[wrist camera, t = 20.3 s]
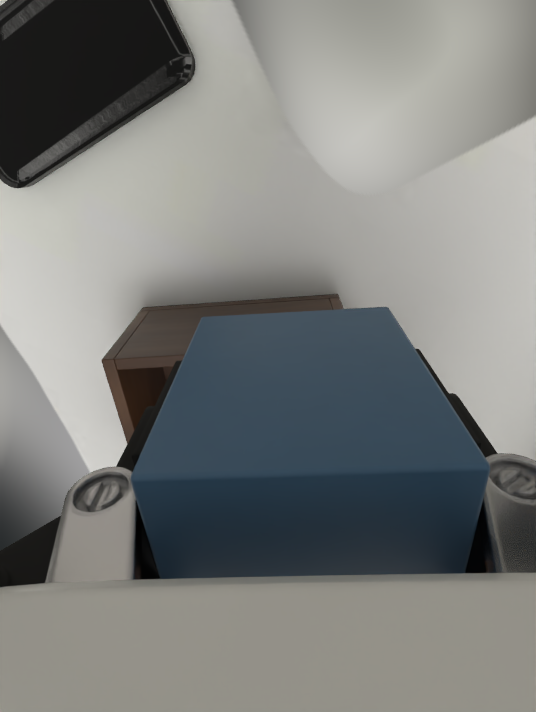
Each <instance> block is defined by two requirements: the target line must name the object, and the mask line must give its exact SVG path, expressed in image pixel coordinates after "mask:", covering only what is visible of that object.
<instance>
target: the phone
mask: <svg viewBox="0 0 536 712" xmlns="http://www.w3.org/2000/svg"><path fill="white" fill-rule="evenodd" d="M194 70H195V60H194V57H193V54H192V52H191V50H190V48H189V46H188V44H187V41H186V39H185V37H184V35H183V33H182V31H181V29H180V27H179V25H178V23H177V21H176V19H175V17H174V15H173V13H172V11H171V9H170V7H169V5H168V3H167V1H166V0H7V1H6V2H5V3H4V4H2V5H1V6H0V179H1V180H2V181H3V182H4V183H5V184H7V185H8V186H10V187H13V188H23V187H28V186H31V185H34V184H35V183H37V182H38V181H40V180H41V179H43V178H44V177H46V176H47V175H49V174H50V173H52V172H53V171H55V170H56V169H58V168H59V167H61V166H62V165H64V164H65V163H67V162H69V161H70V160H72V159H73V158H75V157H76V156H78V155H79V154H81V153H82V152H84V151H85V150H87V149H88V148H90V147H91V146H93V145H94V144H96V143H97V142H99V141H100V140H102V139H104V138H105V137H107V136H108V135H110V134H111V133H113V132H114V131H116V130H117V129H119V128H120V127H122V126H123V125H125V124H126V123H128V122H129V121H131V120H132V119H134V118H135V117H137V116H139V115H140V114H142V113H143V112H145V111H146V110H148V109H149V108H151V107H152V106H154V105H155V104H157V103H158V102H160V101H161V100H163V99H164V98H166V97H167V96H169V95H170V94H172V93H174V92H175V91H177V90H178V89H180V88H181V87H183V86H184V85H186V84H187V83H188V82H189V81H190V80H191V79H192V77H193V75H194Z"/></svg>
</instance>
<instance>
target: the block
mask: <svg viewBox="0 0 536 712" xmlns="http://www.w3.org/2000/svg"><path fill="white" fill-rule="evenodd" d="M489 473H490V465H489V463H488V461H487V460H486V458H485V456H484V455H483V453H482V452H481V450H480V449H479V447H478V446H477V444H476V443H475V441H474V439H473V438H472V436H471V435H470V433H469V432H468V430H467V429H466V427H465V426H464V424H463V422H462V421H461V419H460V418H459V416H458V415H457V413H456V412H455V410H454V409H453V407H452V405H451V404H450V402H449V401H448V399H447V398H446V396H445V395H444V393H443V392H442V390H441V388H440V387H439V385H438V384H437V382H436V381H435V379H434V378H433V376H432V375H431V373H430V371H429V370H428V368H427V367H426V365H425V364H424V362H423V361H422V359H421V357H420V356H419V354H418V353H417V351H416V350H415V348H414V347H413V345H412V344H411V342H410V340H409V339H408V337H407V336H406V334H405V333H404V331H403V330H402V328H401V327H400V325H399V323H398V322H397V320H396V319H395V317H394V316H393V314H392V313H391V311H390V310H389V308H388V307H375V308H357V309H339V310H321V311H302V312H284V313H266V314H247V315H229V316H211V317H202V318H201V320H200V322H199V324H198V327H197V329H196V331H195V333H194V335H193V338H192V340H191V342H190V344H189V347H188V349H187V351H186V353H185V356H184V358H183V360H182V362H181V365H180V367H179V369H178V371H177V374H176V376H175V378H174V380H173V383H172V385H171V387H170V389H169V392H168V394H167V396H166V398H165V400H164V403H163V405H162V407H161V409H160V412H159V414H158V416H157V418H156V421H155V423H154V425H153V427H152V430H151V432H150V434H149V436H148V439H147V441H146V443H145V445H144V448H143V450H142V452H141V454H140V457H139V459H138V461H137V463H136V465H135V468H134V470H133V472H132V474H131V478H130V479H131V484H132V487H133V491H134V494H135V497H136V501H137V504H138V507H139V510H140V514H141V517H142V520H143V524H144V527H145V530H146V533H147V537H148V540H149V543H150V547H151V550H152V553H153V556H154V560H155V563H156V566H157V570H158V573H159V576H160V579H183V578H224V577H271V576H324V575H381V574H456V573H465V572H466V567H467V563H468V559H469V555H470V551H471V547H472V543H473V539H474V535H475V530H476V526H477V522H478V518H479V514H480V510H481V506H482V502H483V498H484V493H485V489H486V485H487V481H488V477H489Z"/></svg>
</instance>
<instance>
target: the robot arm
mask: <svg viewBox="0 0 536 712" xmlns="http://www.w3.org/2000/svg"><path fill="white" fill-rule="evenodd" d="M415 350H416V351H417V353H418V354H419V356H420V357H421V359H422V361H423V362H424V364H425V365H426V367H427V368H428V370H429V371H430V373H431V375H432V376H433V378H434V379H435V381H436V382H437V384H438V385H439V387H440V388H441V390H442V392H443V393H444V395H445V396H446V398H447V399H448V401H449V402H450V404H451V405H452V407H453V409H454V410H455V412H456V413H457V415H458V416H459V418H460V419H461V421H462V422H463V424H464V426H465V427H466V429H467V430H468V432H469V433H470V435H471V436H472V438H473V439H474V441H475V443H476V444H477V446H478V447H479V449H480V450H481V452H482V453H483V455H484V456H485V458H486V460H487V461H488V463H489V465H490V473H489V477H488V481H487V485H486V489H485V493H484V498H483V502H482V506H481V510H480V514H479V518H478V522H477V526H476V530H475V535H474V539H473V543H472V547H471V551H470V555H469V559H468V563H467V567H466V572H465V573H456V574H381V575H324V576H271V577H224V578H183V579H160V576H159V573H158V570H157V566H156V563H155V560H154V556H153V553H152V550H151V547H150V543H149V540H148V537H147V533H146V530H145V527H144V524H143V520H142V517H141V514H140V510H139V507H138V504H137V501H136V497H135V494H134V491H133V487H132V484H131V479H130V478H131V474H132V472H133V470H134V468H135V465H136V463H137V461H138V459H139V457H140V454H141V452H142V450H143V448H144V445H145V443H146V441H147V439H148V436H149V434H150V432H151V430H152V427H153V425H154V423H155V421H156V418H157V416H158V414H159V412H160V409H161V407H162V405H163V403H164V400H165V398H166V396H167V394H168V392H169V389H170V387H171V385H172V383H173V380H174V378H175V376H176V374H177V371H178V369H179V367H180V365H181V362H182V360H180V361H176V362H175V364H174V366H173V368H172V371H171V373H170V375H169V377H168V379H167V381H166V383H165V385H164V387H163V390H162V392H161V394H160V396H159V398H158V400H157V402H156V404H155V406H149V407H147V408H146V409H145V411H144V413H143V415H142V417H141V419H140V421H139V423H138V425H137V427H136V429H135V430H134V432H133V434H132V436H131V438H130V440H129V442H128V444H127V446H126V448H125V450H124V452H123V454H122V456H121V458H120V460H119V462H118V464H117V466H116V467H107V468H102V469H99V470H96V471H93V472H91V473H89V474H88V475H86V476H84V477H82V478H81V479H80V480H78V481H77V482H76V483H75V484H74V485H73V486H72V487H71V489H70V490H69V491H68V493H67V495H66V498H65V501H64V505H63V509H62V513H61V516H60V517H58V518H56V519H54V520H53V521H51V522H49V523H47V524H46V525H44V526H42V527H41V528H39V529H37V530H35V531H34V532H32V533H30V534H29V535H27V536H25V537H23V538H22V539H20V540H19V541H17V542H15V543H13V544H11V545H10V546H8V547H6V548H4V549H3V550H1V551H0V712H536V461H534V460H532V459H529V458H527V457H524V456H519V455H515V454H504V453H500V454H498V453H497V452H496V451H495V449H494V448H493V446H492V445H491V443H490V442H489V440H488V439H487V438H486V436H485V435H484V433H483V432H482V430H481V429H480V428H479V426H478V425H477V423H476V422H475V420H474V419H473V417H472V416H471V415H470V413H469V412H468V410H467V409H466V407H465V406H464V404H463V403H462V402H461V400H460V399H459V397H458V396H457V395H456V394H453V393H450V394H449V393H448V392H447V390H446V389H445V387H444V386H443V384H442V383H441V381H440V380H439V378H438V377H437V375H436V374H435V372H434V371H433V369H432V368H431V366H430V365H429V363H428V362H427V360H426V359H425V357H424V356H423V354H422V353H421V351H420V350H419V349H415Z"/></svg>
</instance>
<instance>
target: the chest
mask: <svg viewBox="0 0 536 712" xmlns="http://www.w3.org/2000/svg"><path fill="white" fill-rule="evenodd" d="M339 309H343V306H342V303H341V301H340V298H339V295H338V294H332V295H318V296H303V297H289V298H275V299H260V300H246V301H231V302H217V303H203V304H188V305H174V306H160V307H145V308H142V309H141V311H140V312H139V313H138V315H137V316H136V317H135V318H134V320H133V321H132V322H131V324H130V325H129V326H128V327H127V329H126V330H125V331H124V332H123V334H122V335H121V336H120V337H119V339H118V340H117V341H116V342H115V344H114V345H113V346H112V348H111V349H110V350H109V351H108V353H107V354H106V355H105V356H104V358H103V359H102V363H103V367H104V370H105V373H106V376H107V380H108V383H109V386H110V389H111V392H112V396H113V399H114V402H115V405H116V409H117V412H118V415H119V418H120V421H121V425H122V428H123V431H124V434H125V437H126V441H127V444H128V442H129V440H130V438H131V436H132V434H133V432H134V430H135V429H136V427H137V425H138V423H139V421H140V419H141V417H142V415H143V413H144V411H145V409H146V408H147V407H149V406H155V404H156V402H157V400H158V398H159V396H160V394H161V392H162V390H163V387H164V385H165V383H166V381H167V379H168V377H169V375H170V373H171V371H172V368H173V366H174V364H175V362H176V361H180V360H183V358H184V356H185V353H186V351H187V349H188V347H189V344H190V342H191V340H192V338H193V335H194V333H195V331H196V329H197V327H198V324H199V322H200V320H201V318H202V317H211V316H229V315H247V314H266V313H284V312H302V311H321V310H339Z"/></svg>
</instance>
